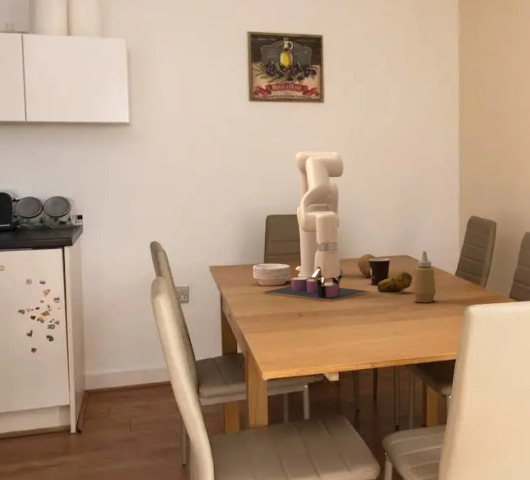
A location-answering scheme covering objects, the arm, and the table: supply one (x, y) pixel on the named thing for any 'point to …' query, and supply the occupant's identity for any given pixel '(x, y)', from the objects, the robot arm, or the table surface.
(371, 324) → the table surface
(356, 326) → the table surface
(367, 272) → the natural sponge
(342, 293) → the placemat
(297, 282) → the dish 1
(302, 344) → the table surface
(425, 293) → the squeeze bottle
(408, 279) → the potato
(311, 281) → the dish mid
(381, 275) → the coffee mug
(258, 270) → the paper bowls
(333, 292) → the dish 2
